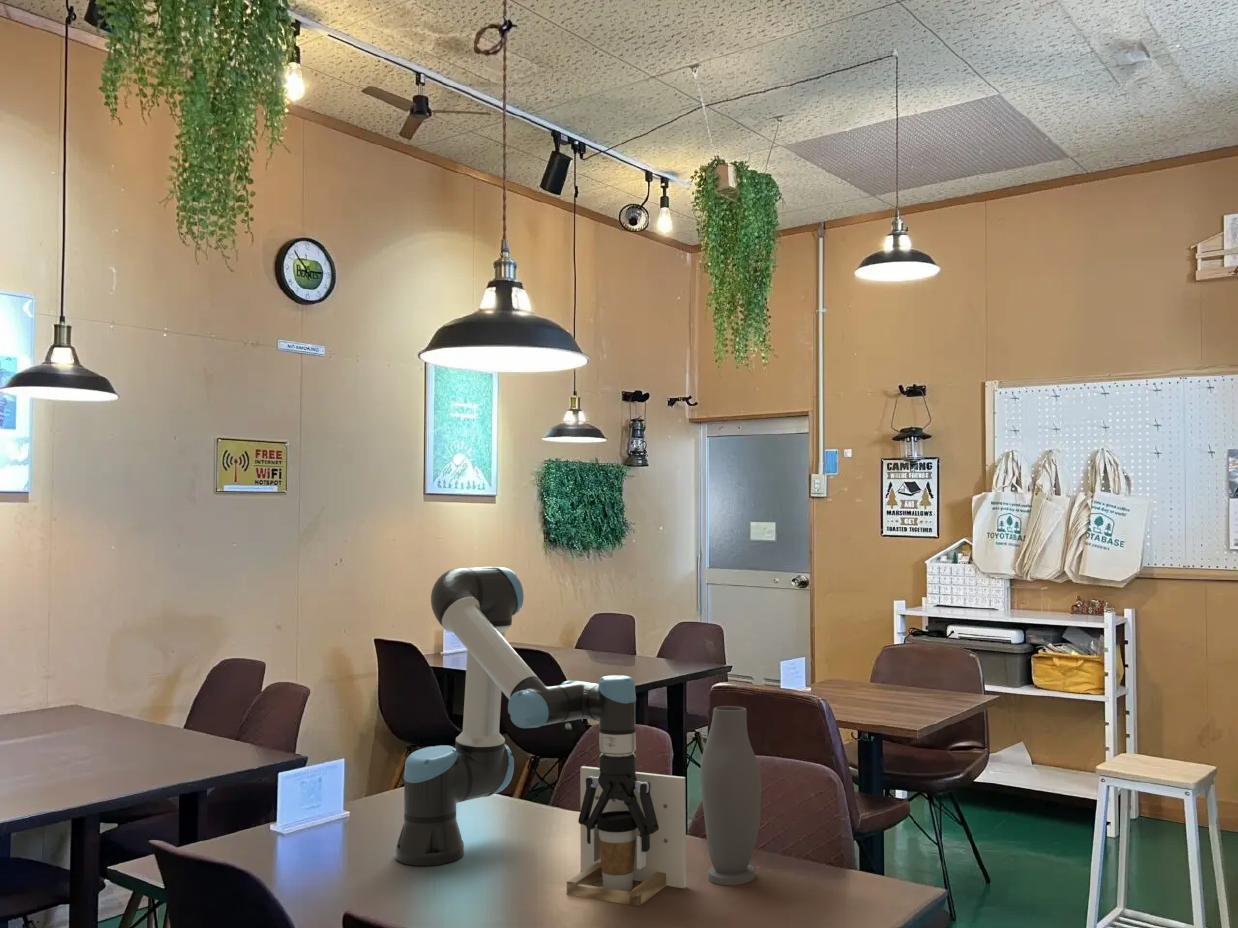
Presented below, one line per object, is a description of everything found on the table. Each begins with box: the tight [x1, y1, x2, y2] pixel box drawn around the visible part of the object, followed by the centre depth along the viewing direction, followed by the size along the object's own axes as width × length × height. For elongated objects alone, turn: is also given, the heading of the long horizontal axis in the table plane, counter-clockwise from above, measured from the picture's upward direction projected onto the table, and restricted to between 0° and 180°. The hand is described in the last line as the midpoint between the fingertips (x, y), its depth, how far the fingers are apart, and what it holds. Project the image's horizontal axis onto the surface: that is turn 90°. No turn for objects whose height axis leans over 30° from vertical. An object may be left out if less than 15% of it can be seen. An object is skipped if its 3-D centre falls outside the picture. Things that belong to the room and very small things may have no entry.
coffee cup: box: [597, 811, 637, 892], centre depth 209 cm, size 8×8×15 cm
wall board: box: [579, 765, 687, 889], centre depth 215 cm, size 24×1×22 cm, turn 64°
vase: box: [699, 705, 762, 886], centre depth 217 cm, size 13×13×35 cm
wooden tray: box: [566, 863, 667, 907], centre depth 208 cm, size 16×13×2 cm
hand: (618, 863), depth 209 cm, fingers open, 10 cm apart
